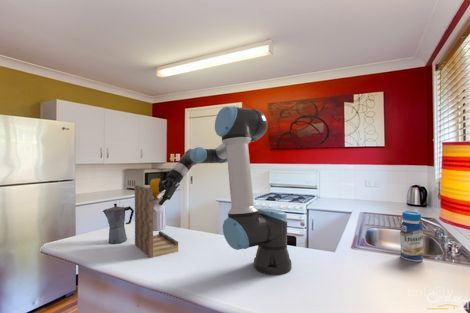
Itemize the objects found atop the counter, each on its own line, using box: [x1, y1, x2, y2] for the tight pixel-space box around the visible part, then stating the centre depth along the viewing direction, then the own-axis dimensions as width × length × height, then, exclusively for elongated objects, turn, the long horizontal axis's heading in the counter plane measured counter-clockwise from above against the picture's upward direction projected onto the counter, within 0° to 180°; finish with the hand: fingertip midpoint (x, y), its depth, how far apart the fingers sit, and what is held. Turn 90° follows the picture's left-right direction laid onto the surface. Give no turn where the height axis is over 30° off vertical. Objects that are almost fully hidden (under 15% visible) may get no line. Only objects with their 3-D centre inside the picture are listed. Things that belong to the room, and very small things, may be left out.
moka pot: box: [102, 203, 135, 245], centre depth 141 cm, size 10×15×20 cm, turn 107°
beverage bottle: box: [399, 210, 424, 263], centre depth 116 cm, size 8×8×20 cm
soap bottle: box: [149, 178, 167, 232], centre depth 131 cm, size 9×9×25 cm
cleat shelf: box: [134, 184, 179, 259], centre depth 130 cm, size 22×14×30 cm, turn 37°
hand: (149, 208), depth 128 cm, fingers closed on soap bottle, 8 cm apart
